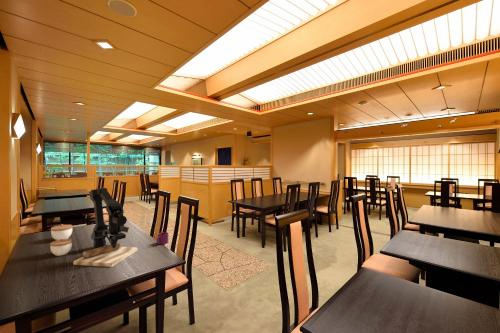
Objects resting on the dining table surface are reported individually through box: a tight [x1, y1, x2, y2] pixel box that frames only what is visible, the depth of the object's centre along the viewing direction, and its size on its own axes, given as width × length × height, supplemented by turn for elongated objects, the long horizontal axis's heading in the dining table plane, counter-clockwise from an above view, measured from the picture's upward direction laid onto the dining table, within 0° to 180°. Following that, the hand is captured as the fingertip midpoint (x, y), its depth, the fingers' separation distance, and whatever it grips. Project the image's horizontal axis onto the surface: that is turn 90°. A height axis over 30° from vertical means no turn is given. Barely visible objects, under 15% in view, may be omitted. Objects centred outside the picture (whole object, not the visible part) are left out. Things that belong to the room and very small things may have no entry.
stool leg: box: [82, 242, 121, 258], centre depth 139 cm, size 20×3×3 cm, turn 145°
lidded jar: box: [49, 238, 73, 257], centre depth 143 cm, size 11×11×9 cm
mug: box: [156, 231, 169, 245], centre depth 162 cm, size 7×10×7 cm
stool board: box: [73, 246, 139, 268], centre depth 139 cm, size 23×24×2 cm
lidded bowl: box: [50, 223, 73, 241], centre depth 170 cm, size 13×13×11 cm
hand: (113, 248), depth 142 cm, fingers closed
